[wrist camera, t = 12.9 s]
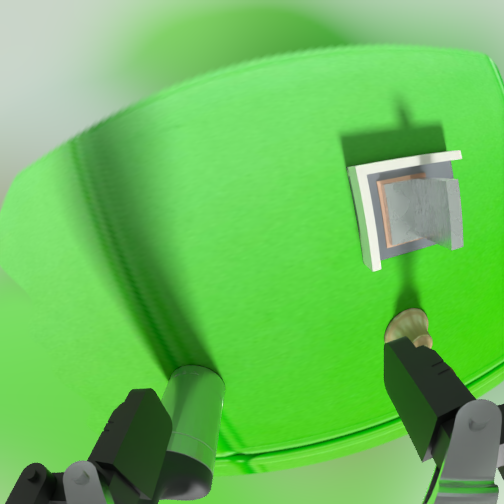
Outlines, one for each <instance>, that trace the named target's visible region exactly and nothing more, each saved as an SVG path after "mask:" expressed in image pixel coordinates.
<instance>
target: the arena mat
mask: <svg viewBox="0 0 504 504" xmlns="http://www.w3.org/2000/svg"><path fill="white" fill-rule="evenodd" d="M444 152H445V151H444ZM436 153H437V152H436ZM421 155H422V154H421ZM408 157H409V156H408ZM401 158H402V157H401ZM395 159H396V158H395ZM389 160H390V159H389ZM383 161H384V160H383ZM377 162H378V161H377ZM366 164H367V163H366ZM360 165H361V164H360ZM355 166H356V165H355ZM350 167H351V166H350ZM346 168H347V170H348V167H346ZM348 172H349V171H348ZM420 177H435V178H450V179H454V178H453V172H452V166H451V160H450V161H443V162H437V163H430V164H424V165H418V166H412V167H406V168H400V169H395V170H389V171H384V172H378V173H373V174H368V175H367V179H368V184H369V189H370V194H371V200H372V205H373V211H374V217H375V224H376V230H377V237H378V245H379V253H380V260H384V259H387V258H391V257H394V256H398V255H401V254H405V253H408V252H411V251H415V250H418V249H421V248H425V247H428V246H431V245H435V244H437V243H434V242H432V241H430V240H427V239H425V238H419V239H415V240H412V241H408V242H404V243H401V244H397V245H391V244H390V243H389V234H388V226H387V219H386V212H385V206H384V199H383V193H382V188H381V184H386V183H392V182H397V181H403V180H408V179H414V178H420ZM348 178H349V182H350V187H351V192H352V197H353V202H354V207H355V212H356V218H357V224H358V229H359V228H360V227H359V221H358V216H357V210H356V205H355V200H354V195H353V190H352V185H351V180H350V176H348ZM359 230H360V229H359ZM359 232H360V231H359ZM359 234H360V233H359ZM360 235H361V234H360Z"/></svg>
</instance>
